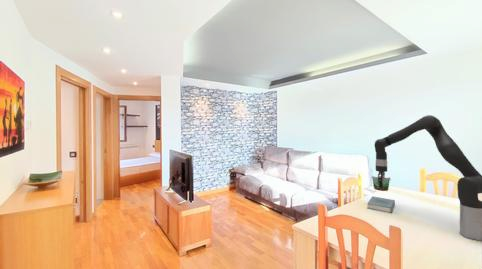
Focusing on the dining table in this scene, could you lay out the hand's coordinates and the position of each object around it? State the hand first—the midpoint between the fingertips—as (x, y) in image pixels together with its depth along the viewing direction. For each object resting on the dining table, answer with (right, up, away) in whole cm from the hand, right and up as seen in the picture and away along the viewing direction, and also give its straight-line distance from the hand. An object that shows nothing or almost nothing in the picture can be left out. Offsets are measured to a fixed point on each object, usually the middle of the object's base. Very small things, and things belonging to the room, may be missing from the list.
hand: (381, 186), depth 162 cm
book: (0, -16, +1) cm, 16 cm away
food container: (0, -3, 0) cm, 3 cm away
